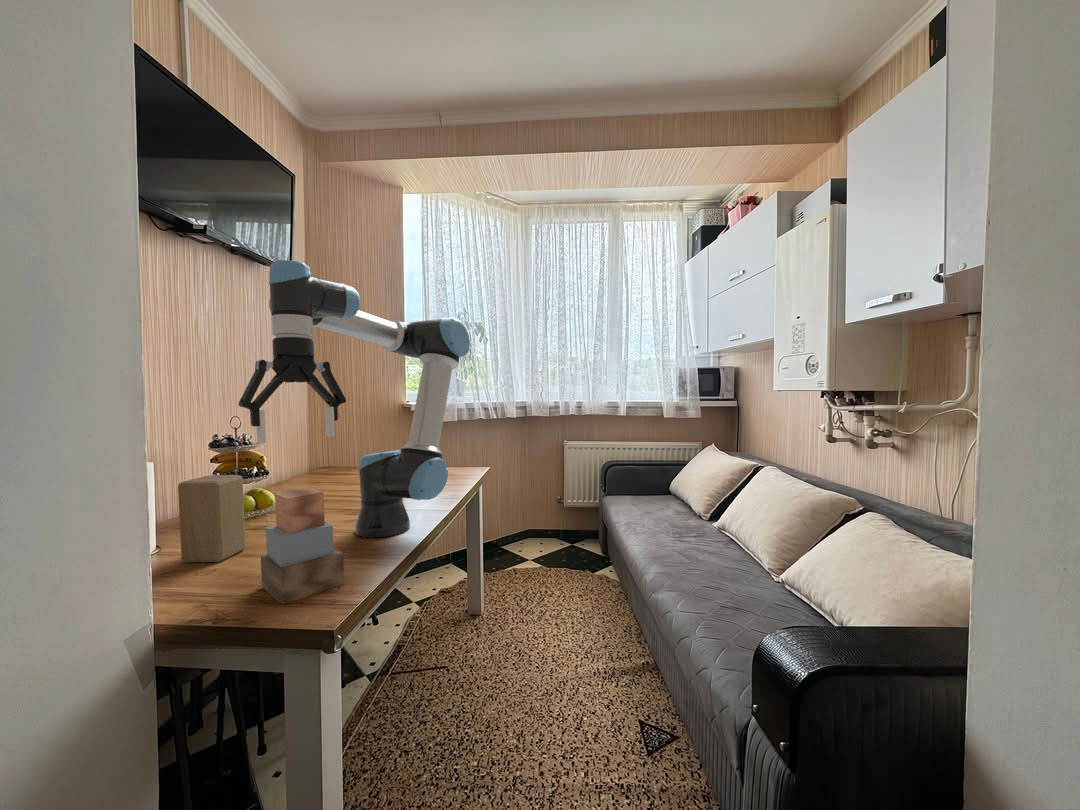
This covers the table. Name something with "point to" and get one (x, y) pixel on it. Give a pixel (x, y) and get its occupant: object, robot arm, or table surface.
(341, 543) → the table surface
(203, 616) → the table surface
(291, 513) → the cube
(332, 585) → the tower base
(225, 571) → the table surface
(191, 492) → the block
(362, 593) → the table surface
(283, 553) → the tower top
